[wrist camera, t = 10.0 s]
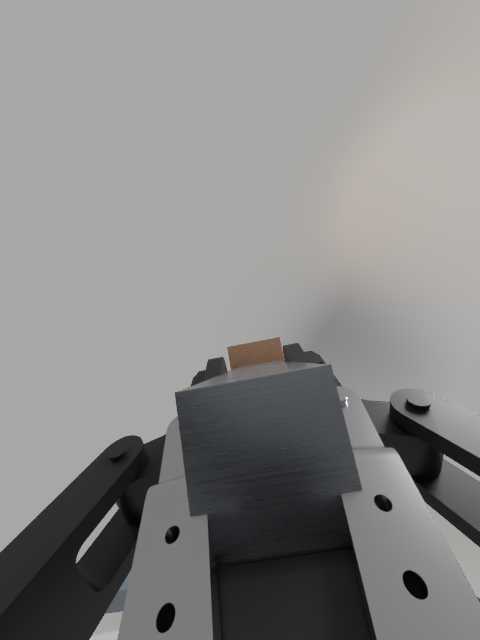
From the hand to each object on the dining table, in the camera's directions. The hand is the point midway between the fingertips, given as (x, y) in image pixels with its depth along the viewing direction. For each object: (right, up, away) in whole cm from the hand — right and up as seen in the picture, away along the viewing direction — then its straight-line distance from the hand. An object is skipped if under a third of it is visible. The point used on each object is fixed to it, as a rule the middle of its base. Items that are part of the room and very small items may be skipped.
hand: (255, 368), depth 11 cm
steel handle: (+1, -4, +4) cm, 6 cm away
